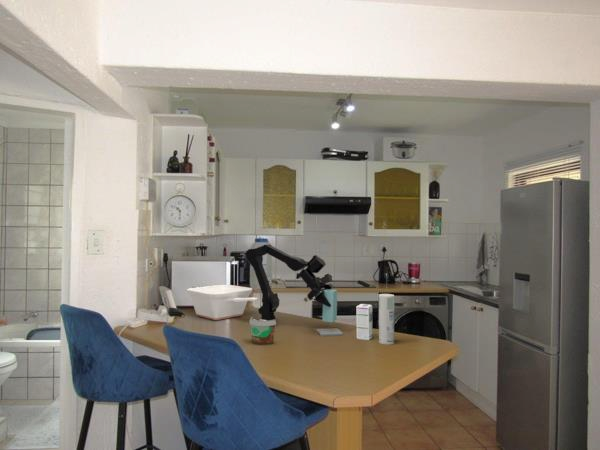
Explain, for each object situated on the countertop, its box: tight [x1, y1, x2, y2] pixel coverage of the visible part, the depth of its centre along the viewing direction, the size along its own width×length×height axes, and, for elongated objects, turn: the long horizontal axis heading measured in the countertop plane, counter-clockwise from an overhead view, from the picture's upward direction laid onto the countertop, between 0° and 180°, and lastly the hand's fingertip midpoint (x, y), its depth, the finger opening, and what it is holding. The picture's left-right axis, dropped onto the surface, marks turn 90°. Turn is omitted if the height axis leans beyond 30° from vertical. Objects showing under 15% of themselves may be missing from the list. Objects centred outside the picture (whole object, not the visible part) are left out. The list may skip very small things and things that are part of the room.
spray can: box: [378, 293, 395, 345], centre depth 175 cm, size 6×6×20 cm
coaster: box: [316, 327, 344, 337], centre depth 190 cm, size 10×10×1 cm
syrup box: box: [355, 303, 374, 341], centre depth 182 cm, size 6×6×14 cm
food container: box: [248, 316, 277, 346], centre depth 172 cm, size 12×6×10 cm, turn 62°
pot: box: [186, 284, 258, 321], centre depth 220 cm, size 29×44×15 cm, turn 47°
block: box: [321, 288, 338, 323], centre depth 191 cm, size 5×5×14 cm
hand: (332, 305), depth 190 cm, fingers closed on block, 5 cm apart
